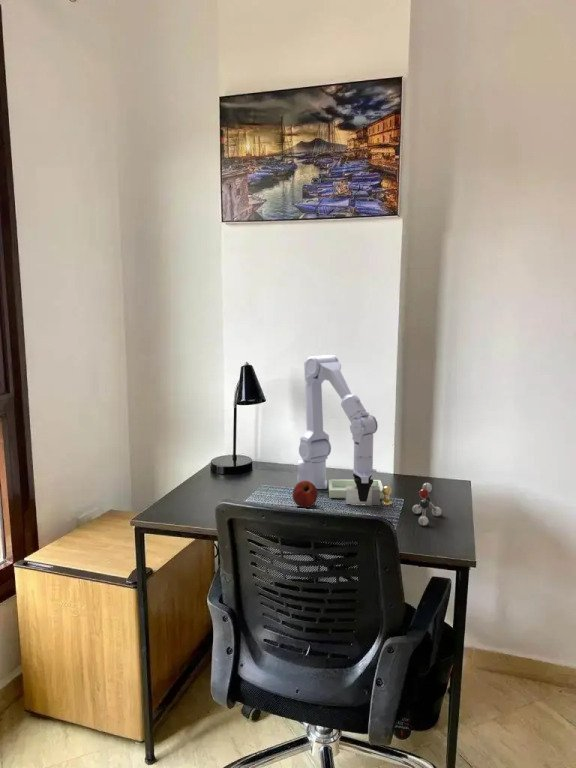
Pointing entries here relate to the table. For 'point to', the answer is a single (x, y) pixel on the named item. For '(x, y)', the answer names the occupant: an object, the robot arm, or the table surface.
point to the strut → (353, 496)
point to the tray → (339, 487)
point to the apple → (305, 494)
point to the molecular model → (425, 504)
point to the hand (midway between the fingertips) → (362, 499)
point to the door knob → (386, 495)
